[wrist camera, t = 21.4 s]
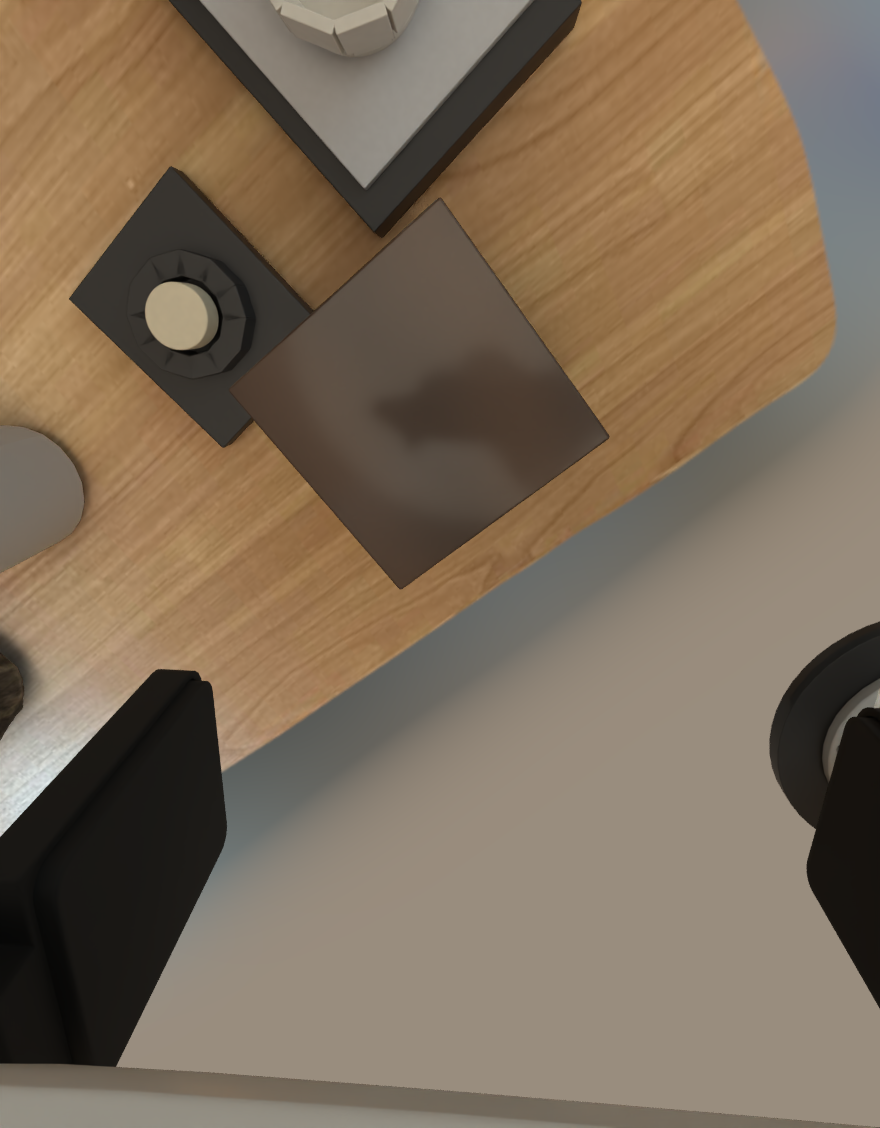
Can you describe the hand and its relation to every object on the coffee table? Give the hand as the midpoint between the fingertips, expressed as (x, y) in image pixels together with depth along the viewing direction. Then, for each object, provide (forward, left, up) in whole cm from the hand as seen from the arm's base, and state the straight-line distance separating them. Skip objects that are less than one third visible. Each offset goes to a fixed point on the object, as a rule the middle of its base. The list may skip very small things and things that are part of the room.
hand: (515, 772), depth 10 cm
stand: (+3, -3, -30) cm, 31 cm away
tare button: (+16, -6, -28) cm, 33 cm away
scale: (+7, -20, -30) cm, 37 cm away
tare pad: (+16, -6, -30) cm, 35 cm away
